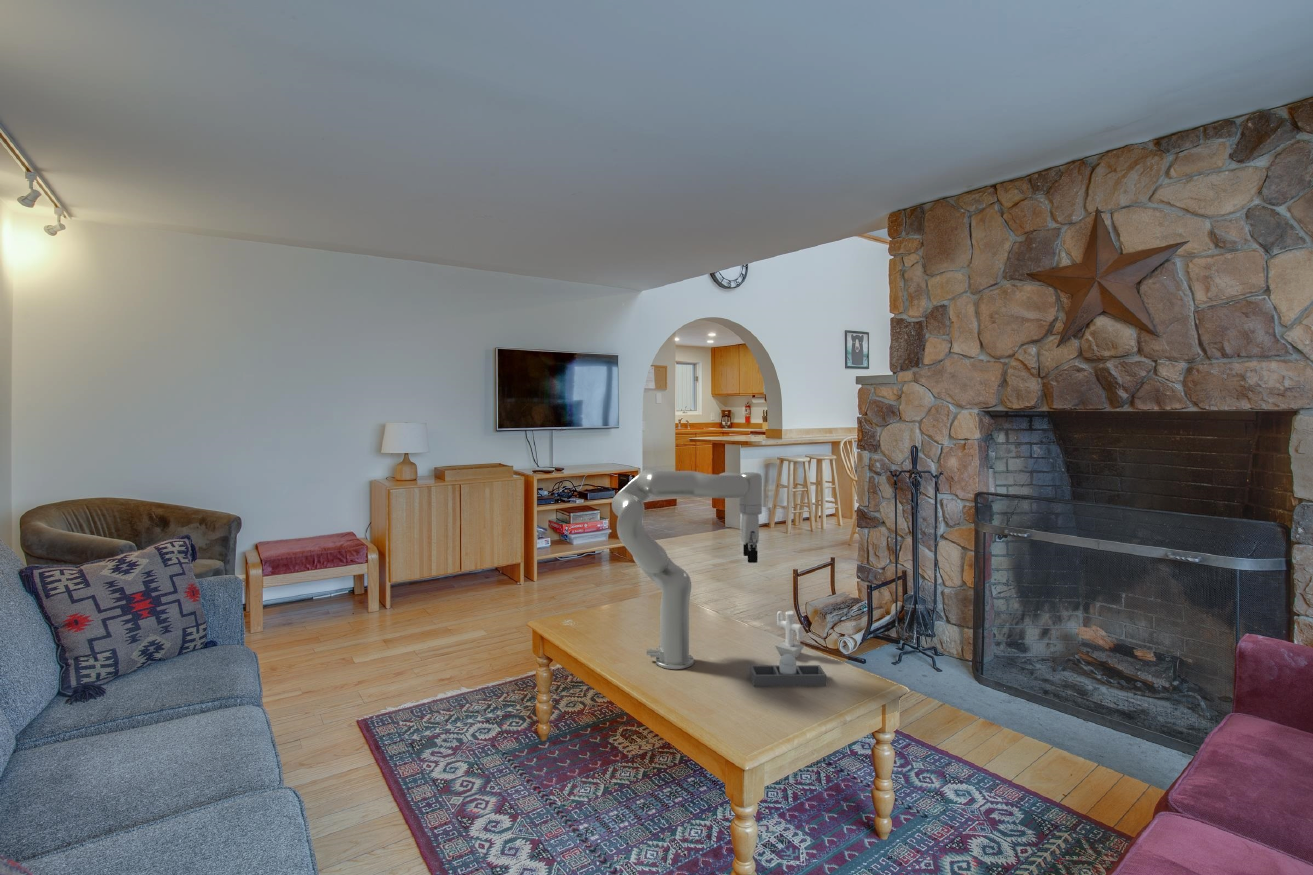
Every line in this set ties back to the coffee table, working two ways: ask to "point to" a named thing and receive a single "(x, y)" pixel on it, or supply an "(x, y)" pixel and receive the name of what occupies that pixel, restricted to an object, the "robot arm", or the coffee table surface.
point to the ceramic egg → (787, 665)
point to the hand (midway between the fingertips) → (750, 559)
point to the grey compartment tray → (787, 676)
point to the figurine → (789, 635)
